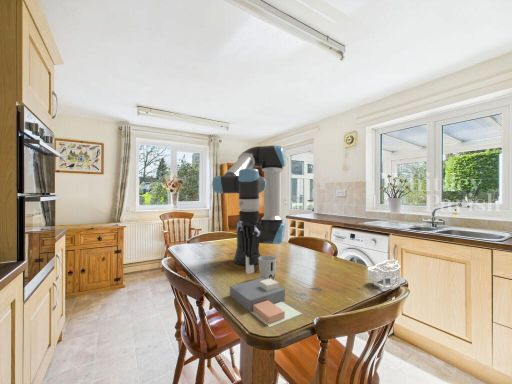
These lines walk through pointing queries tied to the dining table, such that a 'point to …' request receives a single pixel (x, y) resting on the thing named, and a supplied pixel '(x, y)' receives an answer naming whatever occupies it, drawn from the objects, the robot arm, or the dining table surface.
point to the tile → (268, 311)
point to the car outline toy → (385, 274)
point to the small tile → (268, 284)
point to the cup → (267, 266)
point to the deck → (255, 294)
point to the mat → (289, 314)
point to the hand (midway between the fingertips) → (249, 272)
